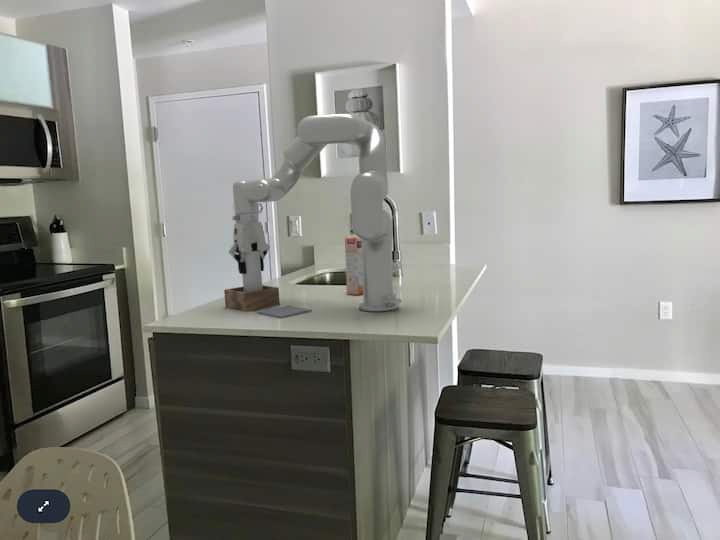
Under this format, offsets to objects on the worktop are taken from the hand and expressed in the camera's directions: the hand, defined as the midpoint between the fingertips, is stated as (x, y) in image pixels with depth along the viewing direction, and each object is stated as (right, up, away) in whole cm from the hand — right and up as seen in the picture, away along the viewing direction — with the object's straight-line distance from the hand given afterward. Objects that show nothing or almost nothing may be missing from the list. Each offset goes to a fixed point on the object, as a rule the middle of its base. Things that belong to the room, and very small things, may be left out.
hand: (251, 271), depth 194 cm
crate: (0, -12, +2) cm, 12 cm away
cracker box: (+38, -8, +20) cm, 43 cm away
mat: (+13, -13, -11) cm, 21 cm away
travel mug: (+1, -10, +1) cm, 10 cm away
